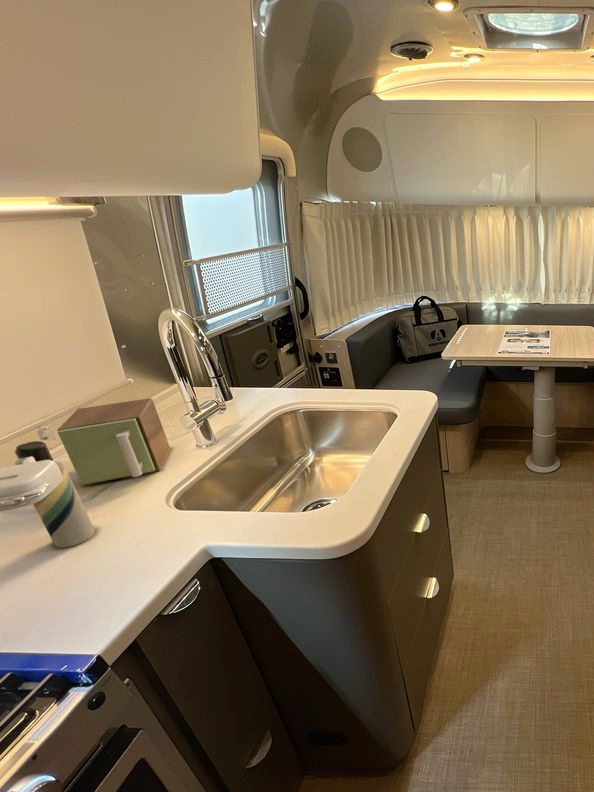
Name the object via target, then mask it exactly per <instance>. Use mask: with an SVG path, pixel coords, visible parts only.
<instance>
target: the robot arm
mask: <svg viewBox="0 0 594 792" xmlns="http://www.w3.org/2000/svg"><path fill="white" fill-rule="evenodd" d="M17 459H18V458H17ZM54 461H55V460H53V461H52V460H43V461H38V462H36V461H35V459H34V457H26V458H21V459H18V460H16V461H15V462H14V465H11V466H4V467H0V513H2V512H7V511H11V510H16V509H21V508H24V507H28V506H32V505H33V504H34V503H36V502H38V501H40V500H42V499H43V498H45V497H46V496H47V495H48V494H50V493H51V492H52V491H53V490H54V489H55V488H56V487H57V486H58V485H59V484H60V483H61V482H62V480H63V476H62V473H61V471H60V469H59V467H58V465H57V464H56V463H55V462H54Z"/></svg>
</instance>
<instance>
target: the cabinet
mask: <svg viewBox="0 0 594 792" xmlns="http://www.w3.org/2000/svg"><path fill="white" fill-rule="evenodd" d="M134 418H136V421H137V423H138V426H139V428H140V431H141V434H142V436H143V439H144V441H145V444H146V446H147V449H148V452H149V454H150V457H151V459H152V462H153V464H154V467H155V471H152V472H147V473H142V475H143V476H144V475H147V474H152V473H158V472H160V471H161V470H162V467H163V465H164V463H165V461H166V459H167V457H168V455H169V453H170V450H171V446H170V444H169V441H168V438H167V436H166V433H165V430H164V427H163V424H162V422H161V418H160V417H159V413H158V410H157V408H156V406H155V403H154V400H153V398H152V397H150V398H149V397H148V398H143V399H135V400H129V401H122V402H114V403H107V404H100V405H94V406H87V407H82V408H81V407H80V408H77V409H76V410H75V411H74V412H73V413H72V414H71V415H70V416H69V417H68V418H67V419H66V420H65V421H64V422H63V423H62V424H61V425H60V426H59V427H58V428H57V432H58V431H59V430H65V429H71V428H77V427H84V426H90V425H96V424H103V423H109V422H115V421H122V420H128V419H134ZM142 475H141V476H142ZM127 478H133V477H132V475H131V476H126V477H121V478H116V479H111V480H105V481H100V482H95V483H90V484H85V485H82V486H83V487H86V486H91V485H97V484H102V483H106V482H111V481H116V480H121V479H127Z"/></svg>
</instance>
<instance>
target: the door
mask: <svg viewBox="0 0 594 792" xmlns="http://www.w3.org/2000/svg"><path fill="white" fill-rule="evenodd" d="M57 434H58V436H59V438H60V441H61V443H62V444H63V447H64V449H65V451H66V453H67V455H68V458H69V459H70V462H71V464H72V466H73V468H74V470H75V473H76V475H77V477H78V479H79V481H80V484H81V485H82V486H83V485H85V484H90V483H95V482H100V481H105V480H111V479H116V478H121V477H126V476H131V475H132V477H131V478H137V477H141V476H142V473H147V472H152V471H155V467H154V464H153V462H152V459H151V457H150V454H149V452H148V449H147V446H146V444H145V441H144V439H143V436H142V434H141V431H140V428H139V426H138V423H137V421H136V418H134V419H128V420H122V421H115V422H109V423H103V424H96V425H90V426H84V427H77V428H71V429H65V430H59V431H58V430H57Z"/></svg>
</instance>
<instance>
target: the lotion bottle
mask: <svg viewBox="0 0 594 792" xmlns="http://www.w3.org/2000/svg"><path fill="white" fill-rule="evenodd" d="M14 453H15V455H16V457H17V459H21V458H26V457H34V459H35V461H36V462H38V461H43V460H52V461H54V462H55V463H56V464H57V465H58V467H59V469H60V471H61V473H62V476H63V480H62V482H61V483H60V484H59V485H58V486H57V487H56V488H55V489H54V490H53V491H52V492H51V493H50V494H48V495H47V496H46V497H45V498H43V499H42V500H40V501H38V502H36V503H34V504H32V505H33V507H34V508H35V511H36V512H37V514H38V516H39V519H40V520H41V522H42V524H43V526H44V528H45V529H46V531H47V533H48V535H49V537H50V539H51V540H52V542H53V544H54V545H55V546H56V547H57V548H70V547H74V546H77V545H79V544H82V543H84V542H85V541H87V540H89V539H90V538H92V537H93V536H94V534H95V527H94V525H93V523H92V520H91V519H90V516H89V515H88V513H87V510H86V508H85V506H84V504H83V501H82V500H81V498H80V496H79V493H78V491H77V489H76V487H75V485H74V483H73V481H72V478H71V477H70V474H69V472H68V471H67V469H66V467H65V465H64V463H63V462H61V461H57V460H54V459H53V456H52V455H51V453H50V451H49V448H48V446H47V444H46V443H45V442H43V441H39V440H38V441H36V440H35V441H29V442H26V443H21V444H19V445H17V446H16V447H15V450H14Z"/></svg>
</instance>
